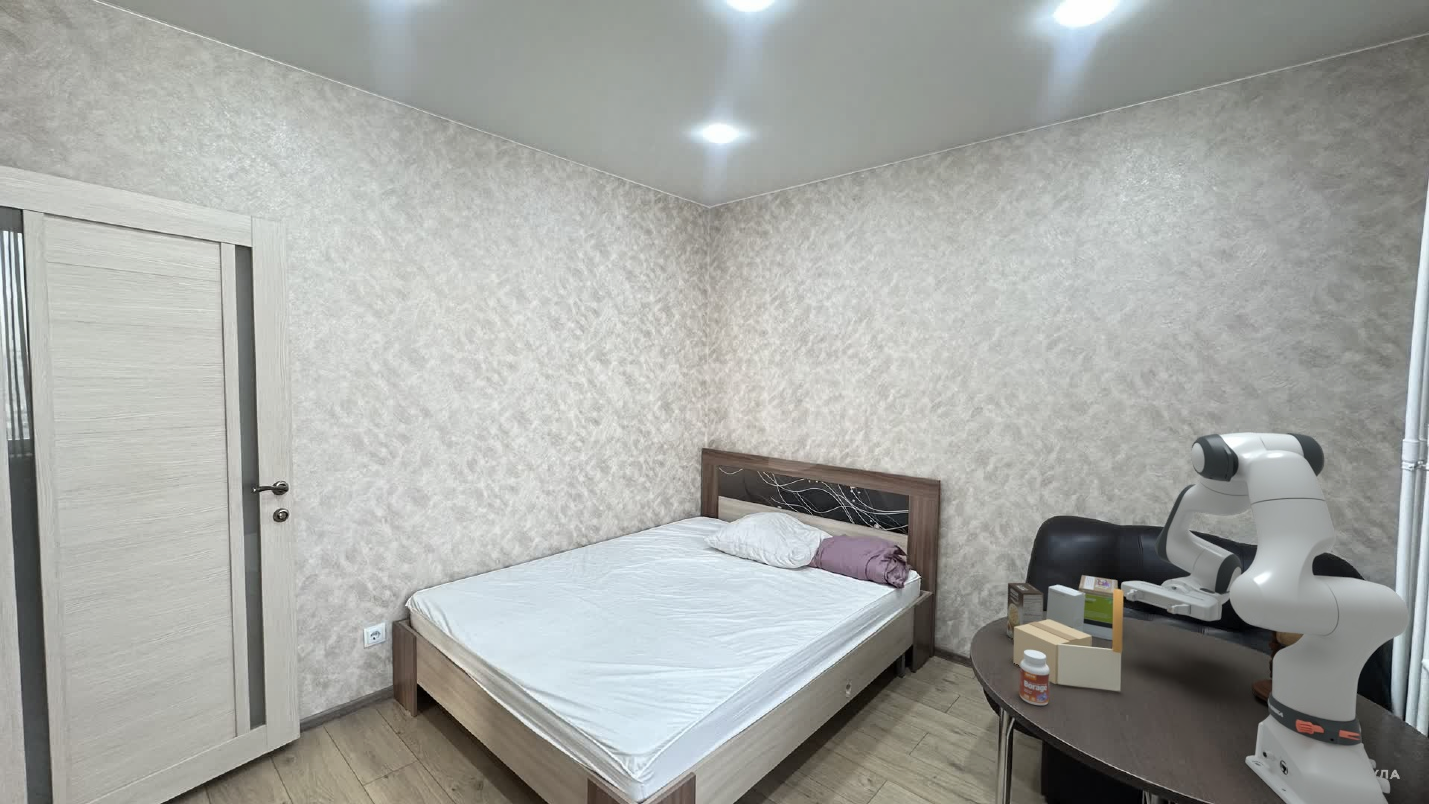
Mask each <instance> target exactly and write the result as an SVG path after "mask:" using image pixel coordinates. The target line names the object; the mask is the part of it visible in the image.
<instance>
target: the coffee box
mask: <svg viewBox="0 0 1429 804" xmlns="http://www.w3.org/2000/svg"><path fill="white" fill-rule="evenodd" d="M1006 613H1007V615H1006V616H1007V618H1006V619H1007V621H1006V635H1007V636H1008V637H1009V638H1011V639H1012V638H1013V639H1012V640H1013V641H1014V627H1016V626H1021V625H1025V624H1028V623H1031V622H1039V621H1043V620H1044V618H1043V615H1044V614H1043V613H1044V593H1043V592H1042V591H1040V590H1039V589H1037V588H1036V587H1035V586H1033V585H1032V584H1030V583H1029V582H1008V583H1007V612H1006Z"/></svg>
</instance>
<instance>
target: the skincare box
mask: <svg viewBox="0 0 1429 804" xmlns="http://www.w3.org/2000/svg"><path fill="white" fill-rule="evenodd" d="M1047 592H1048V593H1047V604H1046V605H1047V606H1046V619H1045V620H1048V619H1050V620H1053V621H1055V622H1058V623H1060V624H1063V625H1065V626H1068V627H1071V628H1073V629H1076V630H1078V631H1081V632H1083V621H1084V607H1085V593H1083V592H1080V591H1079V590H1076V589H1073V588H1071V587H1067V586H1064V585H1060V584H1056V585H1051V586H1048V591H1047Z"/></svg>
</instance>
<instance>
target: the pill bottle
mask: <svg viewBox="0 0 1429 804" xmlns="http://www.w3.org/2000/svg"><path fill="white" fill-rule="evenodd" d="M1045 663H1046V655H1045V654H1043V653H1042V652H1039V651H1036V650H1025V651H1024V660H1022V661H1021V663H1020V666H1019V697H1020V698H1021V699H1022V701H1024V702H1026V703H1028V704H1030V705H1034V706H1046V705H1048V704H1049V700H1050V681H1049V667H1048V666H1047V665H1046V664H1045Z"/></svg>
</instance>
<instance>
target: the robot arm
mask: <svg viewBox="0 0 1429 804" xmlns="http://www.w3.org/2000/svg"><path fill="white" fill-rule="evenodd" d="M1190 460H1191V461H1190V462H1191V463H1192V467H1193V469H1194V471H1195V472H1196V474H1198V475H1199V476H1198V481H1197V482H1196V483H1193V484H1189V485H1187V486H1186V487H1184V488H1183V489H1182V490H1181V491H1180V492H1179V494H1178V495H1177V498H1176V499H1175V501H1174V503H1173V505H1172V507H1171V511H1170V512H1169V515H1168V517H1167V519H1166V521H1165V524H1164V525H1163V528H1162V530H1161V531H1160V533H1159V535H1158V536H1157V537H1156V540H1155V542H1154V549H1155V552H1156V554H1157V556H1158V558H1159V559H1160V560H1162V562H1163V561H1164V562H1166V563H1168V564H1170V565H1173V566H1176V567H1178V568H1180V569H1182V570H1183V571H1185V572H1187V573H1189V574H1190V575H1186V576H1183V577H1177V578H1172V579H1167V580H1165V581H1163V583H1162V584H1161V585H1157V584H1155V583H1151V582H1147V581H1144V580H1143V581H1141V580H1129V581H1123V582H1121V585H1120V590H1123V597H1125V598H1126V600H1128V601H1131V602H1135V601H1136V602H1137V601H1138V602H1142V603H1145V604H1149V605H1153V606H1155V607H1159V608H1162V609H1165V610H1166V611H1167V613H1170V614H1173V615H1177V614H1178V615H1183V616H1188V617H1192V618H1195V619H1199V620H1201V621H1206V622H1212V621H1219V620H1221V618H1222V612H1223V611H1222V609H1223V606H1222V605H1224V604H1226V602H1228V601H1230V604H1231V607H1232V609H1233V610H1234V612H1235V614H1236V615H1238V617H1239V618H1240V619H1241V620H1242V621H1244V622H1245V623H1246V624H1249V625H1251V626H1254V627H1258V628H1261V629H1266V630H1269V631H1271V630H1274V631H1278V632H1287V633H1299V634H1303V636H1302V637H1301V638H1300V639H1299V640H1298V641H1297V642H1296V643H1294V644H1293V645H1291V646H1285V647H1286V648H1284V649H1281V650H1279V651H1278V652H1277V653H1276V655H1275V656H1274V659H1273V677H1272V692H1270V694H1269V699H1268V702H1267V705H1268V707H1267V708H1268V709H1267V711H1268V713H1269V715H1268V716H1267V717H1266V718H1265V719H1263V720H1262V721H1260V722H1259V723H1258V727H1257V736H1256V743H1255V744H1256V745H1255V754H1254V755H1247V756H1246V757H1245V764H1246V765H1247V766H1248V767H1249V768H1250V769H1251V770H1252V771H1253V772H1254V773H1255V774H1256V775H1257V776H1258V777H1259V778H1260V779H1262V781H1263V782H1264V783H1265V784H1266V785H1267V786H1268V787H1270V789H1271V790H1272V791H1273V792H1274V793H1275V794H1276V795H1277V796H1279V797H1280V799H1281V800H1283V802H1284V803H1285V804H1389V802H1388V801H1387V799H1386V797H1385V795H1384V793H1385V794H1390V792H1391V785H1390V782H1389V779H1387V778H1384V777H1382V776H1381V777H1380V776H1377V775H1376V773H1375V770H1374V769H1376V767H1377V763H1376V761H1375V760H1374V759H1372V758H1369V756H1368V754H1367V752H1366V749H1365V747H1364V743H1362V742H1363V739H1362V738H1363V737H1362V734H1361V733H1362V729H1361V725H1360V721H1359V717H1358V716H1357V714H1356V706H1357V692H1358V683H1359V678H1360V674H1361V672H1362V670H1363V668H1364V666H1365V664H1366V663H1367V662H1368V660H1369V659H1370V657H1371V656H1372V654H1374V652H1375V651H1376V650H1378V648H1379V647H1381V646H1382V645H1384V644H1385V643H1387V642H1388V641H1389V640H1392V639H1394V638H1396V637H1398V636H1401V635H1403V633H1404V632H1405V631H1406V629H1407V628H1408V626H1409V622H1410V612H1409V609H1408V607H1407V605H1406V602H1405V601H1404V600H1403V598H1402V597H1401V596H1400V595H1399V594H1398V593H1397V592H1396V591H1395V590H1393V589H1392V588H1390V587H1389V586H1387V585H1386V584H1385V585H1384V584H1381V583H1377V582H1373V581H1369V580H1363V579H1360V578H1355V577H1347V576H1346V577H1345V576H1344V577H1343V576H1329V575H1314V572H1313V562H1314V560H1315V558H1316V557H1317V556H1320V555H1323V554H1325V553H1327V552H1328V551H1329V550H1331V549H1333V547H1334V546H1335V544H1336V542H1337V533H1336V531H1335V528H1334V524H1333V520H1332V517H1331V513H1330V509H1329V507H1328V504H1327V500H1326V497H1325V494H1324V491H1323V489H1322V487H1321V484H1320V482H1319V479H1318V478H1317V477H1318V476H1319V475H1320V473H1321V472H1323V470H1324V467H1325V454H1324V451H1323V448H1322V445H1321V444H1320V443H1319V442H1318V441H1317V440H1316V439H1315V438H1313V437H1312V436H1309V435H1306V434H1301V433H1293V432H1287V433H1275V432H1274V433H1272V432H1252V431H1251V432H1250V431H1249V432H1248V431H1247V432H1245V431H1244V432H1233V433H1232V432H1231V433H1224V434H1218V433H1213V434H1207V435H1202V436H1199V437H1197V439H1196V440H1195V441H1193V443H1192V445H1191V451H1190ZM1250 509H1251V512H1252V515H1253V521H1254V526H1255V532H1256V538H1257V546H1256V548H1257V549H1256V552H1255V556H1254V559H1253V561H1252V563H1251V564H1250V565H1249V567H1248V569H1247V570H1246V571H1244V570H1243V565H1242V563H1241V560H1240V558H1239V556H1238V555H1237V554H1235V553H1233V552H1231V551H1230V550H1229V551H1228V550H1227V549H1225V548H1222V546H1219V545H1216V544H1213V543H1211V542H1210V541H1207V540H1205V539H1203V538H1201V537H1199V536H1197V535H1195V534H1194V533H1192V531H1190V529H1189V527H1190V525H1191V523H1192V521H1193V520H1194V517H1195V515H1196V513H1198V514H1208V515H1212V516H1221V517H1224V516H1236V515H1239V514H1242V513H1243V514H1244V513H1245V512H1247V511H1248V510H1250Z"/></svg>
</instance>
